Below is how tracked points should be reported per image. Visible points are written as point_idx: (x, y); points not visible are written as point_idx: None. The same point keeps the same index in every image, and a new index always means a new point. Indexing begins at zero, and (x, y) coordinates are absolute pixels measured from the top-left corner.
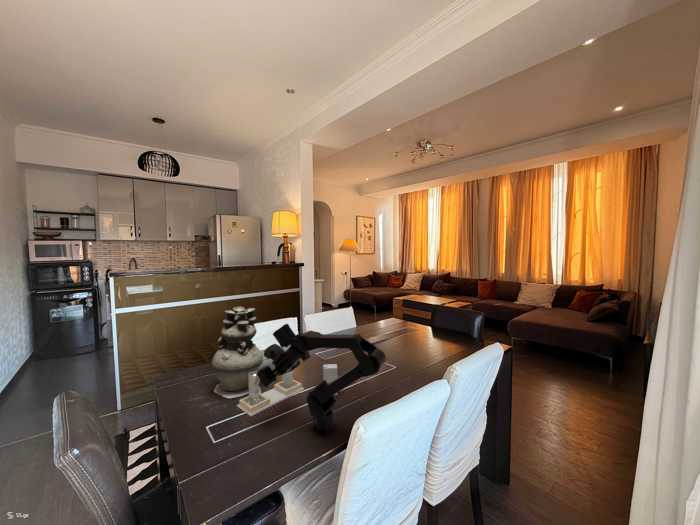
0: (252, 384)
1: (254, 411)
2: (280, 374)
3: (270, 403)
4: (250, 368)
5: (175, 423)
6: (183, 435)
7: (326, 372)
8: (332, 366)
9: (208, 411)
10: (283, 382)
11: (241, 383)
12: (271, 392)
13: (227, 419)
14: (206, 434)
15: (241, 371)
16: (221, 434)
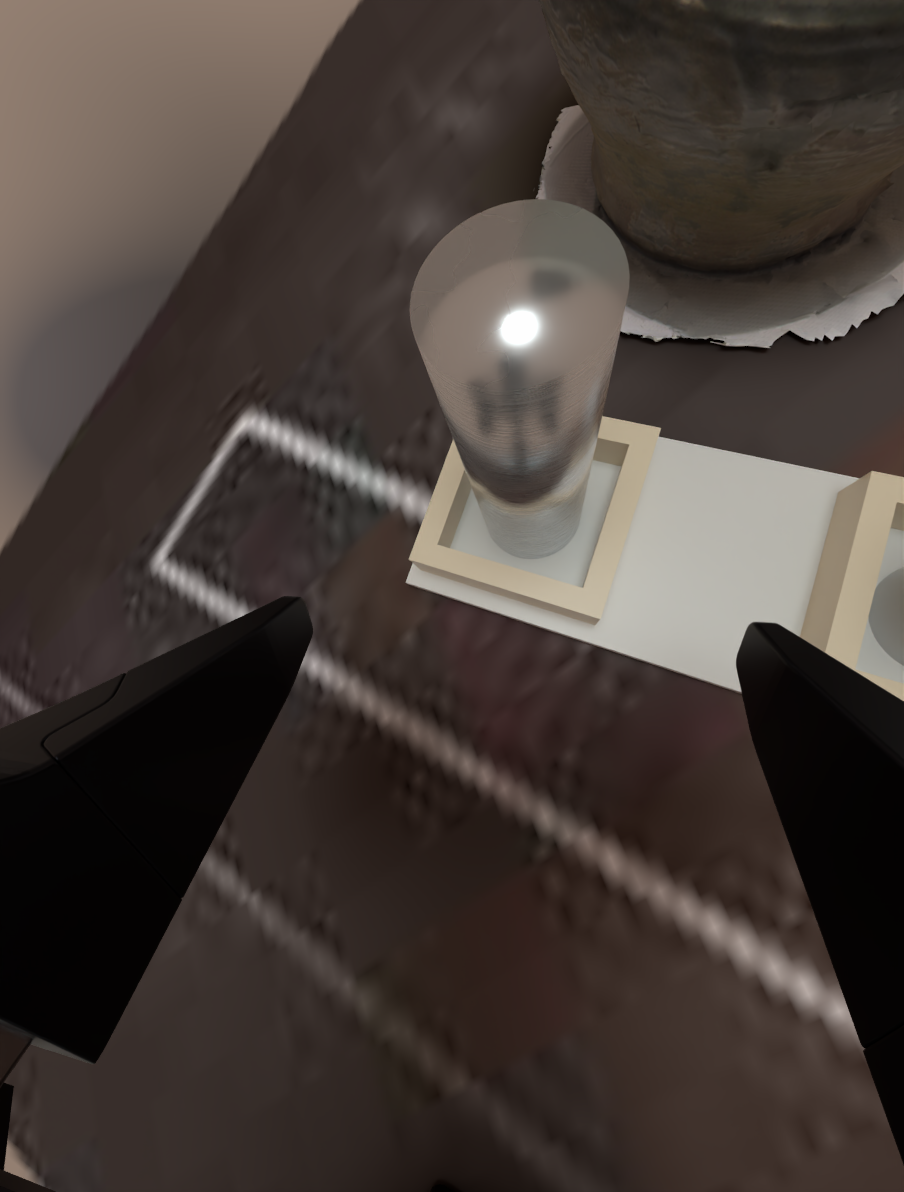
0: (448, 424)
1: (447, 578)
2: (775, 781)
3: (600, 622)
4: (791, 54)
5: (225, 254)
6: (162, 376)
7: None
8: None
9: (363, 297)
10: None
11: (674, 202)
12: (767, 510)
13: (334, 466)
14: (194, 472)
15: (652, 42)
16: (212, 547)
